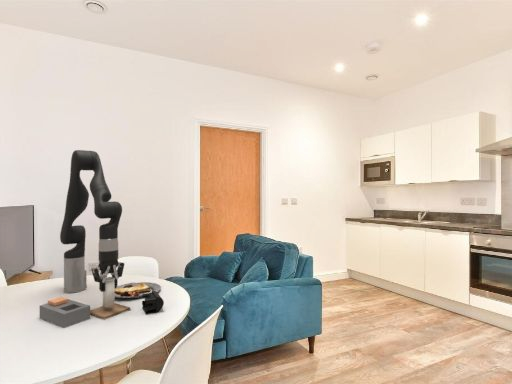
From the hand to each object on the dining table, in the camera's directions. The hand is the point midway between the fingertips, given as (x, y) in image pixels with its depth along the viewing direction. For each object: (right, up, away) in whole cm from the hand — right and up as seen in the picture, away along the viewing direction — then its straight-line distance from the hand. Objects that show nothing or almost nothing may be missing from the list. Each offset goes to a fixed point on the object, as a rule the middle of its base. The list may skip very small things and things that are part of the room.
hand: (108, 289), depth 130 cm
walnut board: (0, -9, 0) cm, 9 cm away
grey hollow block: (-14, -9, -7) cm, 18 cm away
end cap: (+18, -10, +2) cm, 20 cm away
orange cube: (-19, -8, -4) cm, 21 cm away
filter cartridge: (0, -6, 0) cm, 6 cm away
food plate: (+1, -10, +25) cm, 27 cm away
